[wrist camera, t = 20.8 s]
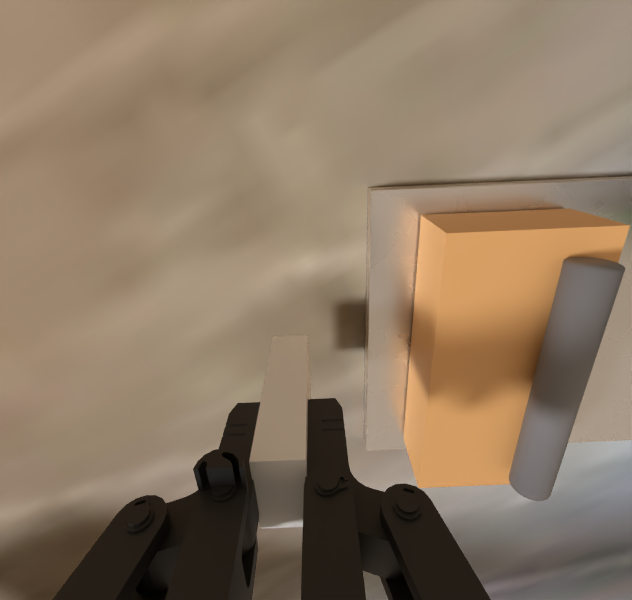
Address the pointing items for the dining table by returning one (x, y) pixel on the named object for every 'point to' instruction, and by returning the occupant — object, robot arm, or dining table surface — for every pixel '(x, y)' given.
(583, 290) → the block
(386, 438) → the vise
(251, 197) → the dining table surface
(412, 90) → the dining table surface
